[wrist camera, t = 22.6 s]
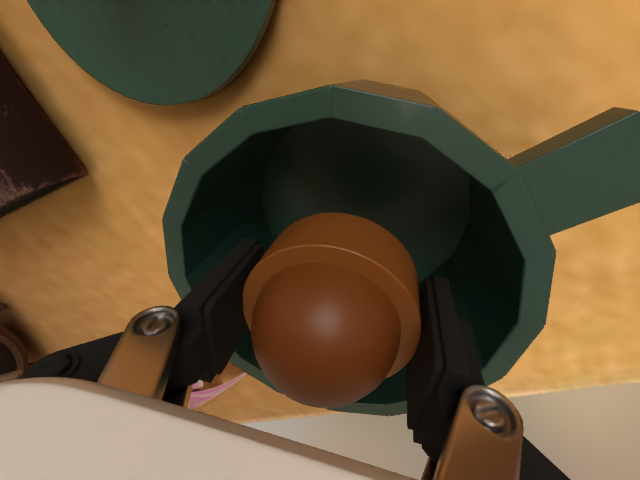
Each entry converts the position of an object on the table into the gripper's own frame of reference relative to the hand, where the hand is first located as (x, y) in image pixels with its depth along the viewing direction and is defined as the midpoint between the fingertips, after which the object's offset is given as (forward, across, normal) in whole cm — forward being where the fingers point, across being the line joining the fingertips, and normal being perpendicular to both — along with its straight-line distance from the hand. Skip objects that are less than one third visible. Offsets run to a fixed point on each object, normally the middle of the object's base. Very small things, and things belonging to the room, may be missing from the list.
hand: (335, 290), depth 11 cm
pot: (+8, 0, 0) cm, 8 cm away
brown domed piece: (+1, 0, 0) cm, 1 cm away
